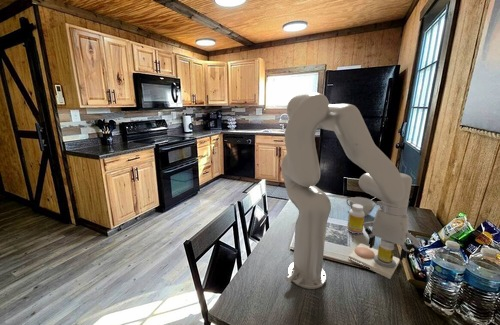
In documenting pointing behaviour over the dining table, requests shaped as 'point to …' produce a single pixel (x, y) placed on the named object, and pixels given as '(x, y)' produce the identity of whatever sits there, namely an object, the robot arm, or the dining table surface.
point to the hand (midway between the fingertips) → (386, 252)
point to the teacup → (365, 202)
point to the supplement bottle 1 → (356, 219)
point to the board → (373, 260)
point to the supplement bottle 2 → (385, 252)
